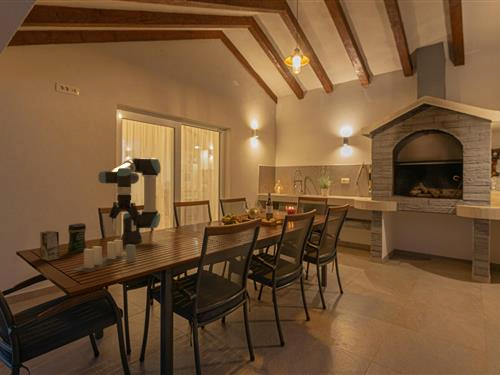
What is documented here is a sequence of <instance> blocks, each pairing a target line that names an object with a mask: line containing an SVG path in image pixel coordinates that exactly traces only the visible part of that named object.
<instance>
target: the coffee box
mask: <svg viewBox="0 0 500 375" xmlns="http://www.w3.org/2000/svg"><path fill="white" fill-rule="evenodd" d="M59 233H60V232H59V231H56V230H47V231H41V232H39V239H40V240H39V243H40V244H39V245H40V259H41V260H45V261H47V262H48V261H53V260H58V259H59V258H60V245H59V244H60V240H59V239H60V237H59V236H60V234H59Z"/></svg>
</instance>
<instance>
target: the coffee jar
mask: <svg viewBox="0 0 500 375" xmlns="http://www.w3.org/2000/svg"><path fill="white" fill-rule="evenodd" d="M67 230H68V234H69V235H68V236H69V238H68V239H69V240H68V247H67V251H68V253H70V254H76V253H82V252H84V249H87V247H86V246H87V245H86V238H85V236H86V230H87V227H86V223H74V224H69V225H68V229H67Z"/></svg>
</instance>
